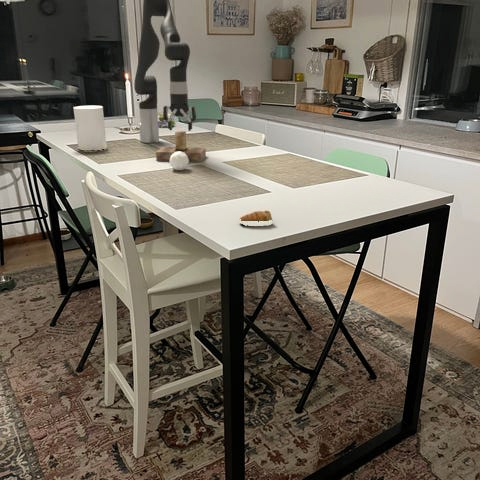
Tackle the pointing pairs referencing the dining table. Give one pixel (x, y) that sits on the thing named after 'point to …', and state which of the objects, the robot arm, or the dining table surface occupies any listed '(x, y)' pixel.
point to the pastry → (257, 216)
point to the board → (191, 152)
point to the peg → (180, 140)
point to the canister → (90, 127)
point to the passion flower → (162, 121)
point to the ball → (179, 160)
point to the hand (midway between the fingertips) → (180, 130)
